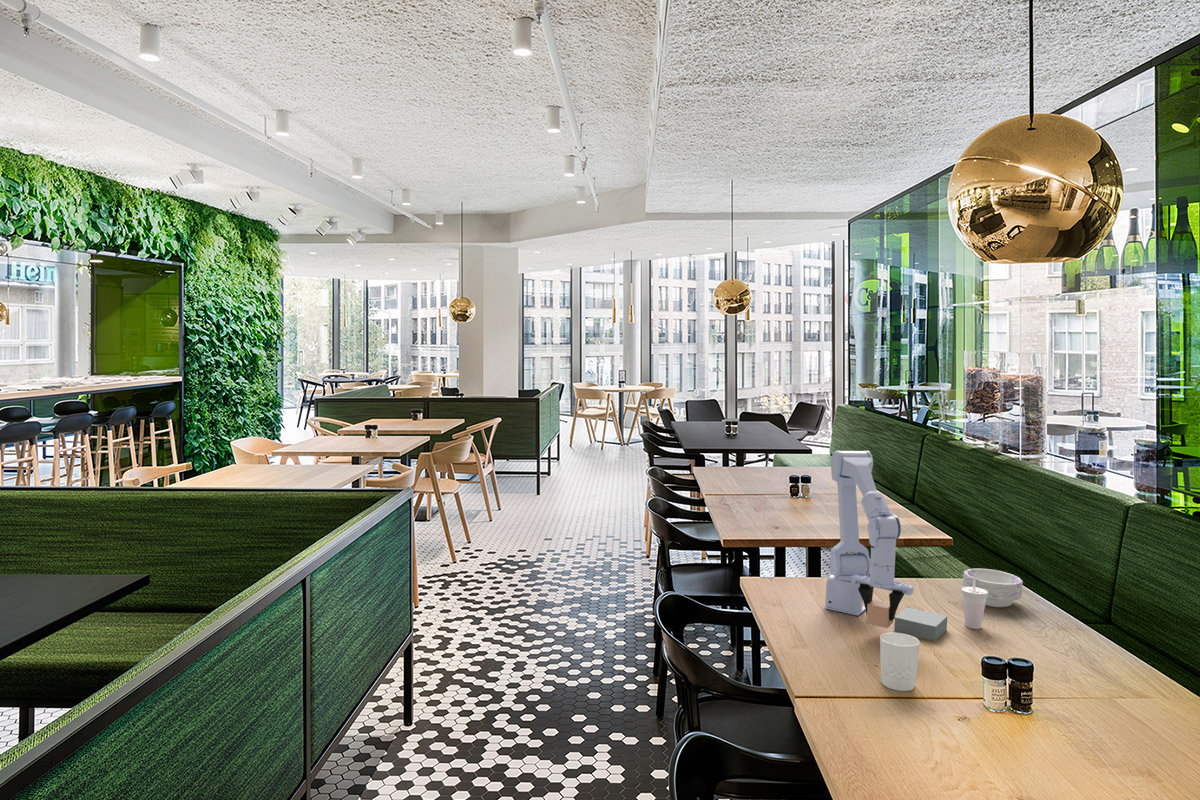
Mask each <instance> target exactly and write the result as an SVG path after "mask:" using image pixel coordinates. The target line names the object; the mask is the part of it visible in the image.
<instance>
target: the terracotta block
mask: <svg viewBox="0 0 1200 800" xmlns="http://www.w3.org/2000/svg"><path fill="white" fill-rule="evenodd" d="M889 612H890V601H885V600H880V599H876V598H875V599H874V598H872V601H871V602H869V603H868V604H867V615H866V624H867V625H871V626H876V627H880V628H883V629H888V628H889V627H890V626H891V625H893V624H894V620H893V621H890V620H889Z"/></svg>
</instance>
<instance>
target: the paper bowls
mask: <svg viewBox="0 0 1200 800" xmlns="http://www.w3.org/2000/svg"><path fill="white" fill-rule="evenodd" d="M973 573H976V581H975V587H977V588H982V589H984V590H986V591H988V597H987V598H986V603H985V607H992V608H1007V607H1008V608H1009V607H1010V606H1012V604H1013V603H1014V602H1015V601H1017V600H1020V599H1021V598H1022V595H1023V588H1024V587H1023V585H1024V584H1023V583H1024V581H1023V580H1022V579H1021V578H1020V577H1019V576H1017V575H1015V574H1012V573H1008V572H1005V571H1002V570H997V569H989V568H969V569H966V570H964V571H963V578H962V579H963V580H962V588H963V587H973Z"/></svg>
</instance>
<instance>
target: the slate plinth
mask: <svg viewBox="0 0 1200 800" xmlns="http://www.w3.org/2000/svg"><path fill="white" fill-rule="evenodd" d="M893 624H894V627H893V629H894V630H893V632H895V633H902V634H907V635H910V636H913V637H915V638H921V639H924V640H928V641H933V642H936V641H938V639H940V637H941V636H942V635H943V634H944V633H945V632H946V631H947V629H948V616H947V615H943V614H939V613H935V612H934V613H933V612H930V611H924V610H920V609H916V608H911V607H906V608H905V609H904V610H903V611H901V612H900V613H898V614H897V615H895V618H894V623H893Z"/></svg>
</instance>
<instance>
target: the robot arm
mask: <svg viewBox="0 0 1200 800" xmlns="http://www.w3.org/2000/svg"><path fill="white" fill-rule="evenodd" d="M873 459H874V458H873V455H872V453H871V451H869V450H838V449H837V450H835V451H834V452H833V453H832V455H831V459H830V470H831V471H830V473H831V478H832V481H834V482H836V486H837V498H838V502H837V503H838V517H839V536H840V537H839V538H840V541H839V542H838V543H837V544H836V545H834V546H833V547H832V548H831V550H830V558H829V568H830V569H829V570H830V572H831V574H830V575H828V577H827V581H826V583H825V584H826V585H825V606H824V609H826V610H830V611H835V612H839V613H840V612H841V613H844V614H848V615H853V616H860V615H862V613H864V612H865V615H866V616H867V604H868V603H869V602H871V601H872V600H873V595H874V589H875V588H876V589H881V590H886V591H890V593H889V594H888V597H889V598H888V599H889V602H890V612H889V620H890V621H893V622H894V621H895V617H896V612H897V611H898V608H899V605H900V604H901V601H902V599H903V597H904V596H905V594H906V596H912V595H913V593H914V585H910V584H906V583H904V582H900V581H897V580H895V572H896V571H895V570H896V569H895V567H896V566H895V565H896V551H897V550H896V549H897V548H896V547H897V540H898V539H900V537H901V533H902V526H901V520H900V519H899V517H898V516H897V515H895V514H894V513H893V512H891V510H890V509H889V506H888V503H887V501H886V499H885V497H884V495H883V494H882V493H881V492H878V491H877V487H876V485H875V482H874V481H875V480H874V479H873V475H872V472H873V467H874V460H873ZM857 488H858V489H859V491H860V493H861V494H862V498H861V500H860V501H861V502H860V503H861V506H862V508H863V511H864V513H865V516H866V518H867V520H868V523H867V533H868V542H869V544H870V553H869V549H868V548H867V547H866V546H864V545H863V544H862V543H860V535H859V534H860V533H859V520H858V519H859V517H858V500H857ZM869 554H870V555H869Z"/></svg>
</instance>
